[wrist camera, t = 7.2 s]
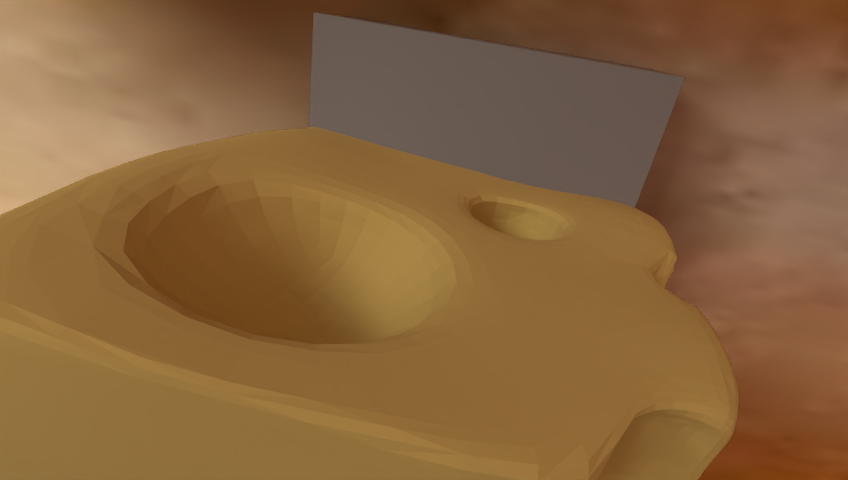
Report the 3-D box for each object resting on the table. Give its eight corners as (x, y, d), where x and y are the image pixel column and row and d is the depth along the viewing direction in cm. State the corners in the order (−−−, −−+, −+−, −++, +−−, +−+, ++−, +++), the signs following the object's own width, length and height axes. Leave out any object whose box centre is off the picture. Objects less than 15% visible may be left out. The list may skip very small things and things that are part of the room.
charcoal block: (357, 17, 25) (313, 12, 20) (648, 68, 24) (685, 77, 18) (337, 263, 32) (300, 308, 27) (561, 317, 31) (569, 376, 25)
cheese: (647, 198, 12) (980, 620, 3) (526, 459, 17) (530, 925, 8) (293, 104, 13) (-186, 240, 4) (270, 376, 18) (17, 714, 9)
